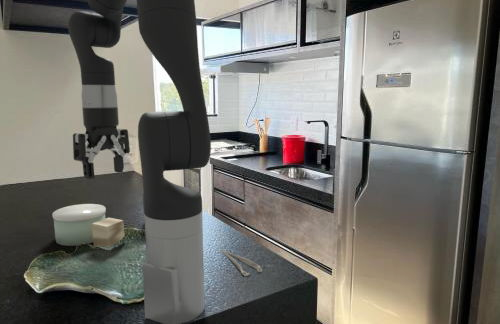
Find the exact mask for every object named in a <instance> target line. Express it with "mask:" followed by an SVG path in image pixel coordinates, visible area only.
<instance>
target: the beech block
mask: <svg viewBox="0 0 500 324" xmlns="http://www.w3.org/2000/svg"><path fill="white" fill-rule="evenodd" d="M92 229H93V248H95V247H97V246H98V245H101V246H106V247H110V246H112V245H114V244H115V243H117V242H119V241H120V240H121V239H122V238H123V237H125V225H124V220H123V219H117V218H113V217H105V219H103V220H100V221H98V222H95V223H92Z"/></svg>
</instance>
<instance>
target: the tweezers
mask: <svg viewBox="0 0 500 324" xmlns="http://www.w3.org/2000/svg"><path fill="white" fill-rule="evenodd" d="M218 250H219V251H220V252H221V253H222V254H224V255H225V256H226V257H227V258H228V259H229V261H231V262H232V263H233V264H234V265H235V266H236V268H238V270H239V271H240V272H241V274H242V275H243V276H244V277H249V276H250V274H251V272H247V271H245V270H243V267H242V266H241V264H239V262H237V261H236V260H239V261H241V262H242V263H244V264H245V265H247V266H249V267H251V268H254V270H256V271H257V273H262V272H263V268H262V266H261V265H258V264H257V263H256V262H254V261H252V260H251V259H248V258H245V257H243V256H239V255H237V254H235V253H232V252H229V251H226V250H224V249H218ZM234 258H235V259H234Z"/></svg>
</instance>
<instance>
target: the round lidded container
mask: <svg viewBox="0 0 500 324" xmlns="http://www.w3.org/2000/svg"><path fill="white" fill-rule="evenodd" d="M106 210H107V208H106V206H104V205H103V204H98V203H97V204H96V203H82V204H72V205H67V206H64V207H61V208H57V209H56V210H55V211H53V212H52V215H51V216H52V219H53V226H54V227H53V228H54V237H55V242H56V244H58V245H61V246H67V247H68V246H69V247H73V246H74V247H75V246H80V245H79V244H83V243H87V244H86V245H89V244H94V242H93V229H92V223H95V222H98V221H100V220H103V219H106V213H107V211H106Z"/></svg>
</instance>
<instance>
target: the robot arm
mask: <svg viewBox="0 0 500 324" xmlns="http://www.w3.org/2000/svg"><path fill="white" fill-rule="evenodd" d="M127 2H128V0H87V3H88V6H89V7H90V9H91V10H92V11H94V12H89V11H82V10H76V11H74V12H73V13H71V15H70V17H69V19H68V21H67V22H68V23H67V29H68V35H69V37H70V40H71V43H72V46H73V48H74V50H75V53H76V57H77V60H78V64H79V67H80V78H81V80H80V81H81V108H82V109H81V110H82V122H83V126H84V127H85V133H76V132H75V133H73V135H72V149H73V151H72V153H73V160H74V161H76V162H81V163H82V172H83V176H84V177H85V179H86V180H87V179H88V180H93V179H95V165H94V160H95V159H96V156H97V155H98V154H99V153H100V151H105V150H109V151H110V152H111V153H112V154H113V169H114V172H115V173H119V174H120V173H123V172H124V169H125V168H124V164H125V163H124V157H125V155H126V154H129V153H130V152H131V150H130V139H129V131H128V129H126V128H117V127H118V126H119V124H120V122H119V107H118V106H119V105H118V94H117V90H116V77H115V66H114V62H113V61H112V60H111V59H108V58H105V57H103V56H100V55H98V54H96V52H95V50H94V49H93V47H94V48H102V49H103V48H104V49H111V48H113V47H115V46H116V45H117V44H118V43H119V41H120V40H121V34H122V33H121V28H122V27H121V26H122V18H123V11H124V9H125V6H126V4H127ZM136 9H137V22H138V30H139V35H140V36H141V38H142V41H143V42H144V44H145V45H146V47H147V49H148V50H149V51H150V53H151V54H152V56H153V57H154V58H155V59H156V60H157V62H158V63H159V65H160V66H161V67H162V69H163V70H164V71H165V72H166V74H167V75H168V76H169V78H170V80H171V81H172V83H173V85H174V87H175V89H176V91H177V93H178V96H179V100H180V103H181V106H182V110H181V111H180V110H178V111H176V110H175V111H174V110H173V111H172V110H171V111H167V110H166V111H147V112H144V113H143V114H142V115H141V116H140V118H139V120H138V125H137V128H138V129H137V138H138V139H137V140H138V150H139V158H140V166H141V167H140V168H141V175H142V176H141V177H142V190H143V191H142V195H143V197H144V218H145V224H144V235H145V236H144V237H145V253H146V254H145V255H146V260H145V261H144V262H143V263H142V264H141V265H142V266H141V267H142V281H143V282H142V283H143V298H144V316H145V317H144V318H146V319H148V320H151V321H154V322H157V323H160V324H185V323H188V322H190V321H193V320H195V319H196V318H198V317H199V316H200V315H202V313H203V312H204V310H205V275H204V273H205V269H204V268H205V267H204V228H203V227H204V225H203V221H204V220H203V199H202V195H201V193H200V192H199V191H197V190H195V189H193V188H191V187H186V186H182V185H178V184H175V183H174V182H171V181H169V180H167V179H166V178H165V175H164V172H166V171H168V172H170V171H180V170H183V171H184V170H193V169H201V168H205V167H206V166H207V165H208V164H209V161H210V158H211V150H212V144H211V143H212V140H211V139H212V138H211V132H210V131H211V129H210V125H209V117H208V112H207V106H206V100H205V95H204V94H205V93H204V87H203V81H202V75H201V67H200V56H199V45H198V44H199V43H198V28H197V27H198V25H197V15H196V5H195V0H136ZM144 218H143V219H144Z"/></svg>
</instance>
